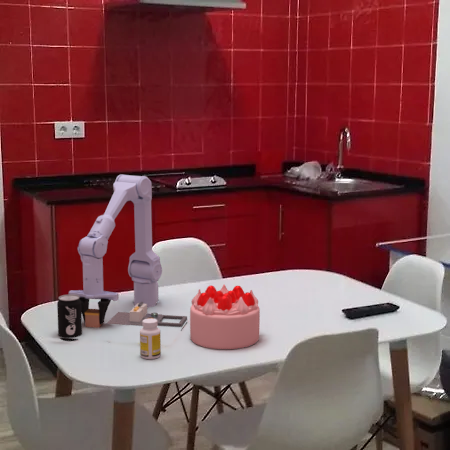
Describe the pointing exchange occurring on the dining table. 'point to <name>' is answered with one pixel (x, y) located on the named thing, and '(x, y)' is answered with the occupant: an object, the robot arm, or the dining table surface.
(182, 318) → the socket
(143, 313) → the block
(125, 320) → the panel
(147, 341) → the supplement bottle
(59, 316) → the beverage can
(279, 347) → the dining table surface
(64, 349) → the dining table surface
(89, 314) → the copper lidded box
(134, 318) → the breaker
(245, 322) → the cake
